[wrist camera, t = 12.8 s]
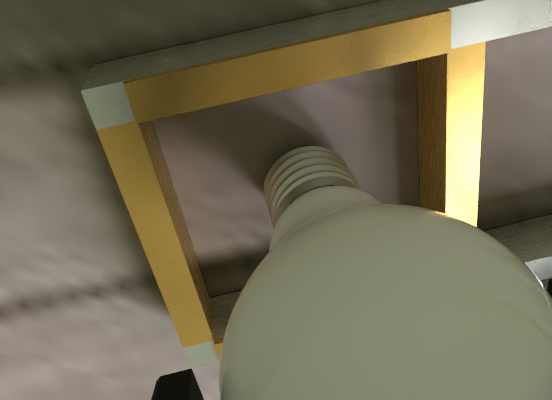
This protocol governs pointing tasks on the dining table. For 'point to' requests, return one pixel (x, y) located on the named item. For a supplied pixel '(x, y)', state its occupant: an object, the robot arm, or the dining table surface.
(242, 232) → the dining table surface
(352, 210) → the lightbulb
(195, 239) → the dining table surface
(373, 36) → the rack
